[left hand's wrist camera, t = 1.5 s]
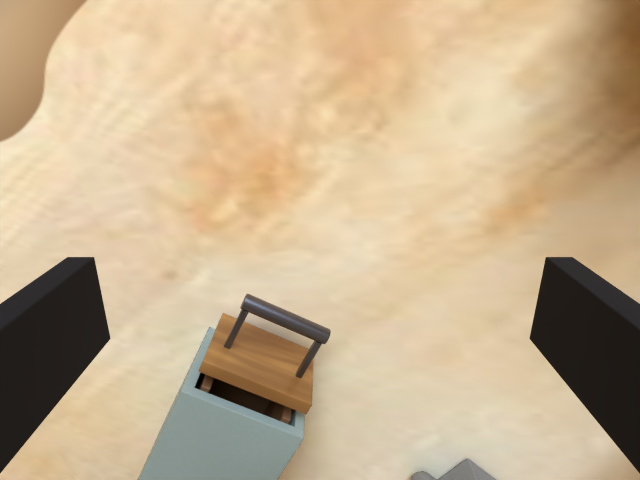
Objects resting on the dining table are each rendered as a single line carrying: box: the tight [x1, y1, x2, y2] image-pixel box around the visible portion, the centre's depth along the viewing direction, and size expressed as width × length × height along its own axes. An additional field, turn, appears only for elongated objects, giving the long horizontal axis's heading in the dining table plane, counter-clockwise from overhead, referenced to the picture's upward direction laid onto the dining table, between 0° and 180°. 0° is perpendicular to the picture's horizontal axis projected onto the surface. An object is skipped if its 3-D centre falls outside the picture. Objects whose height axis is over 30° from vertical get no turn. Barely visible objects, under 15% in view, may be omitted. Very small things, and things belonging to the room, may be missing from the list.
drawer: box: [196, 294, 330, 424], centre depth 41 cm, size 20×10×8 cm, turn 153°
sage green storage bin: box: [138, 327, 305, 480], centre depth 43 cm, size 16×11×10 cm
